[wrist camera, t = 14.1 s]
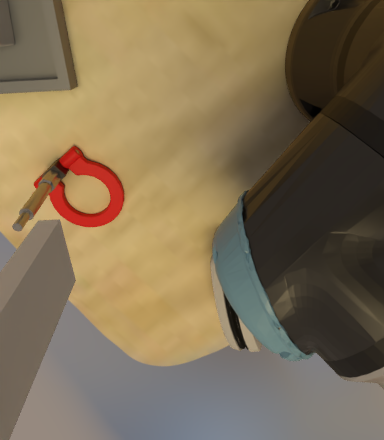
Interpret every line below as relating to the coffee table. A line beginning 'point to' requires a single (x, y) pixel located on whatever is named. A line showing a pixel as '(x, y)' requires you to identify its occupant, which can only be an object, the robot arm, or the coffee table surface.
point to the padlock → (5, 25)
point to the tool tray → (37, 49)
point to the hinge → (232, 319)
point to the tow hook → (55, 189)
